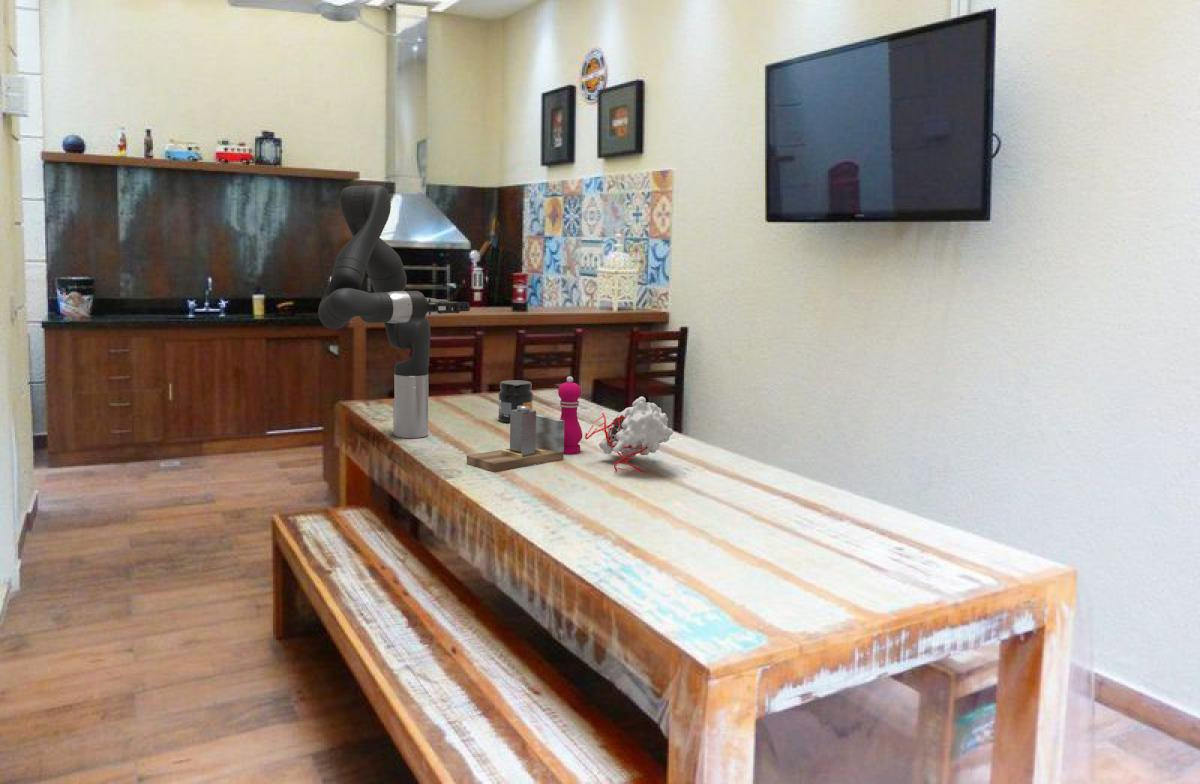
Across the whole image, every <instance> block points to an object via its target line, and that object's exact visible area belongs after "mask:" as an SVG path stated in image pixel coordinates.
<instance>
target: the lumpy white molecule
mask: <svg viewBox="0 0 1200 784" xmlns="http://www.w3.org/2000/svg"><path fill="white" fill-rule="evenodd" d="M646 401H647V400H646V397H644V396H639V397H638V398H636V399H635V400H633V402H632V405H631V406H629V407H626V408H625V409H623V410H622V411H620V412H618V413H617V415H616V417H614V418H613V419H612V420H611V422H609V423H607V419H606V415H605V414H604V412H602V413H601V416H600V418H598V419H596V420H595V422H598V421H599V420H601V419H602V418H603V421H604V422H603V423H601V424H600V425H598V426H599V427H601V426H603V427H602V428H600V429H598V428H595V429H594V431H592V430H593V427H594V424H592V426H591V427H590V429H589V430H588V432H585V435H584V439H585V440H586V441H587V440H588V439H590V438H591V437H592V436H593V435H594V434H597V433H599V432H604V433H605V435H604V436H605V437H604V438H603V439H602V440H601V441H600V442H599V445H598V446H599V448H600V449H601V450H602V451H603V454H606V455H607V454H608V455H610V454H612V452H613V453H617V455H618V456H619V457H620V459H618V460H617V461H615V462H614V464H613V469H614V470H615V472H617V471H618V470H617V469H619V470H623V471H627V472H629V469H625V468H620V467H616V466H617V464H623V465H628V466H629V467H632V468H634V469H632V470H631V471H632V472H635V471H640V472H641V473H642V472H644V470H643V469H642V468H640V467H638V466H635V465H634V464H631V463H629V462H628V461H631V458H632V459H633V458H635V457H636V455H638V454H639V455H640V456H648V455H649V454H650V453H651V454H652V453H653V454H654V453H656V452H657V451H658V450H659V449H660V444H662V443H667V442H668V441H670V437H671V436H672V435H673V434H674V432H673V429H672V428H670V427H669V425H668V422H669V418H668V417H667V414H666V413H665V412H662V408H661V407H659V406H658V405H657V404H656V403H655V402H646ZM597 429H598V430H597ZM591 431H592V432H591ZM590 432H591V433H590ZM589 433H590V434H589ZM622 461H624V462H622Z"/></svg>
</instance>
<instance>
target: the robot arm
mask: <svg viewBox="0 0 1200 784" xmlns="http://www.w3.org/2000/svg"><path fill="white" fill-rule="evenodd" d="M339 204H340V209H341V212H342V215H343V218H344V221H345V223H346V225H347V227H348V228H349V231H350V233H351V235H352V238H351V239H350V240H349V241H348V242H346V244H345V245H344V246H343V247H342V248H341V249H340V251H339V252H338V254H337V257H336V259H335V263H334V266H333V270H332V273H331V278H330V280H329V282H328V285H327V287H326V289H325V291H324V293H323V295H322V297H321V300H320V302H319V304H318V305H319V306H318V310H317V311H318V313H317V314H318V319H319V322H320V323H321V324H322V326H323V327H325V328H327V329H329V330H338V329H342V328H343V327H345V326H346V325H347V324H348V323H349V322H351V320H352V319H354V318H355V317H357V318H358V317H360V319H361V320H362V321H363V322H365V323H368V324H381V323H382V324H384V329H385V332H386V336H387V339H388V341H389V343H390V345H391V346H392V347H393V348H395V349H397V350H412V355H411V357H409V358H407V359H405V360H403V361H399V362H397V363H395V365H394V367H393V369H394V370H393V373H394V376H393V378H394V380H393V381H394V382H393V383H394V399H393V402H392V405H393V407H392V408H393V409H392V410H393V412H392V413H393V417H392V419H393V423H392V425H393V427H392V429H393V434H394V437H397V438H404V439H418V438H425V437H427V436H429V365H430V356H431V355H430V354H431V353H430V352H431V351H430V350H431V332H432V331H431V325H430V322H429V320H428V318H427V317H426V316H427V315H429V316H435V315H448V314H460V313H461V312H470V310H471V308H470V307H471V304H470V302H467V301H460V302H459V301H450V300H448V299H437V298H434V297H433V298H432V297H425V295H424V294H423V293H422V292H420V290H406V286H407V281H408V279H407V278H408V276H407V274H406V271H405V268H404V265H403V261H402V259H401V256H400V255H399V253H398V252H396V251H395V250H394V249H393V247H392V246H391V245H389V244H388V243H387V242H385V241H384V240H383V239H382V238H381V235H382V233H383V230H384V229H385V227H386V225H387V223H388V220H389V217H390V213H391V208H392V202H391V195H390V193H389V191H388V189H387V188H386V187H385V186H383V185H377V184H371V185H369V184H367V185H364V184H363V185H350V186H345V187H343V189H342V190H341V192H340V195H339ZM366 274H367V276H368V278H369V282H370V284H371V287H372V289H373V292H367V291H364V290H361V288H362V285H363V283H364V279H365V276H366Z"/></svg>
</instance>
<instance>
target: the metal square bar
mask: <svg viewBox="0 0 1200 784" xmlns="http://www.w3.org/2000/svg"><path fill="white" fill-rule="evenodd" d="M536 414H537V411H536V410H534V409H532V410H530V409H529V406H517V409H516V410H510V423H509V425H510V426H509V427H510V428H509V449H510V451H512V452H516V453H520V454H522V457H524V456H530V455H535V452H536Z"/></svg>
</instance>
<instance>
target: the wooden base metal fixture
mask: <svg viewBox="0 0 1200 784" xmlns="http://www.w3.org/2000/svg"><path fill="white" fill-rule="evenodd" d="M564 457H565V454H564V420H560V418H555V417H551V416H550V417H549V416H546V415H541V414H537V413H536V452H535V455H530V456H524V457H522V454H520V453H516V452H512V451H510V448H504V449H499V450H492V451H487V452H481V453H476V454H469V455H466V464H467V465H469V466H470V465H471V466H473V467H476V468H479V469H482V470H486V471H489V472H493V473H497V472H503V471H507V470H513V469H518V468H523V467H524V466H525V467H530V466H535V465H534V464H536V465H540V464H539V463H541V464H545V463H544V462H547V463H551V461H552V462H557V461H556V460H558V461H562V459H563V460H564V459H565V458H564ZM529 465H530V466H529Z"/></svg>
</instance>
